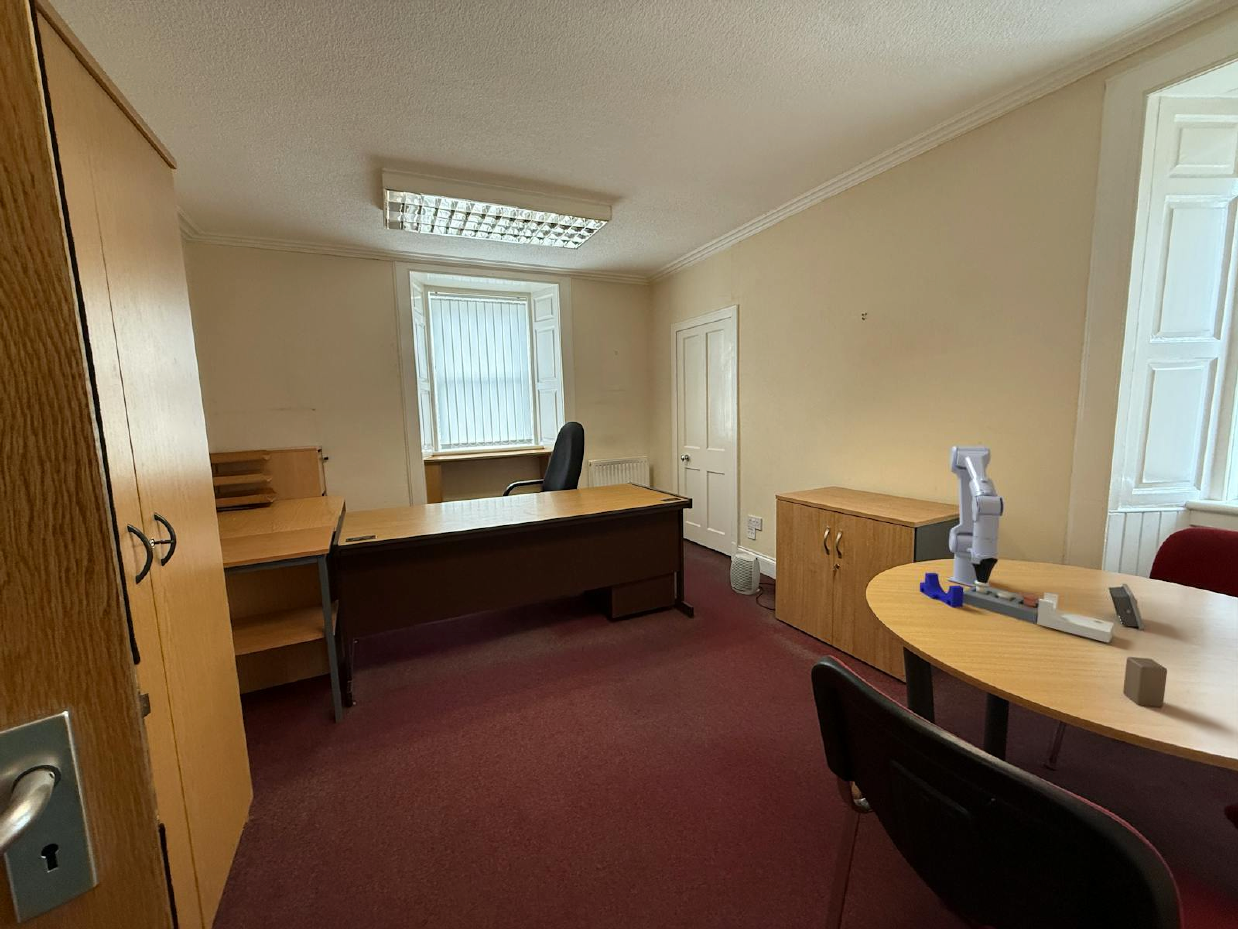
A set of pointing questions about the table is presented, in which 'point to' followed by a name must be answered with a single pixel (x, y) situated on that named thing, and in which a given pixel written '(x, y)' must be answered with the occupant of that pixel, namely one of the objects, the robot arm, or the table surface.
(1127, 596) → the electrical switch
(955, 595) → the blue cradle holder
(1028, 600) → the red plug
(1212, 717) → the table surface
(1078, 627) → the bracket
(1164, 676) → the wooden block
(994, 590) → the socket strip
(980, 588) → the cream plug near
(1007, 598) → the cream plug mid
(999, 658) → the table surface
